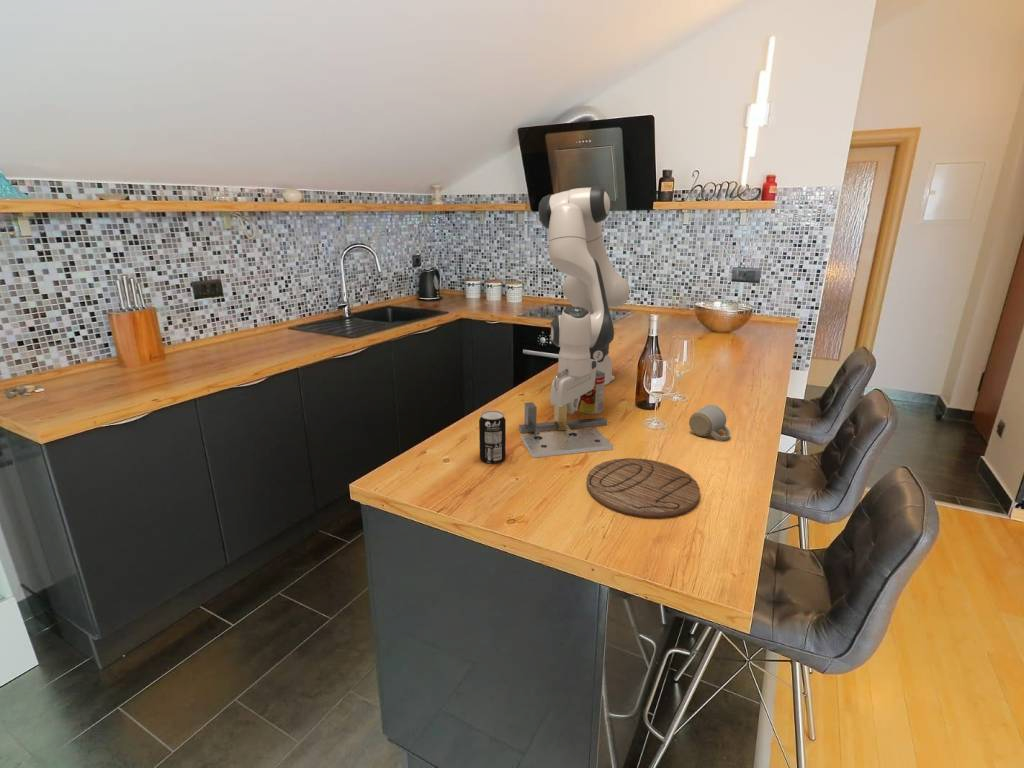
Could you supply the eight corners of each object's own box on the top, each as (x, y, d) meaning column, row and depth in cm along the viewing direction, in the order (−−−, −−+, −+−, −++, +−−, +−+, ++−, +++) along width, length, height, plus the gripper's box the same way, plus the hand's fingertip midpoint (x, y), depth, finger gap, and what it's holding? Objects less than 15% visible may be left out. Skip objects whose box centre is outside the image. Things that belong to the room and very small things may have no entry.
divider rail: (518, 429, 155) (518, 403, 153) (602, 421, 161) (604, 396, 159) (527, 443, 146) (527, 415, 144) (616, 434, 152) (618, 408, 149)
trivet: (717, 488, 124) (718, 480, 123) (666, 534, 106) (667, 526, 105) (622, 456, 139) (622, 449, 139) (564, 492, 122) (564, 484, 121)
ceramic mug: (685, 433, 153) (688, 407, 150) (700, 425, 158) (703, 401, 156) (720, 445, 146) (724, 419, 143) (735, 437, 151) (739, 411, 148)
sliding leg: (553, 424, 158) (554, 400, 155) (561, 423, 158) (562, 399, 156) (564, 438, 148) (565, 412, 146) (573, 437, 149) (574, 411, 146)
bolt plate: (521, 439, 149) (521, 434, 148) (595, 431, 153) (595, 427, 153) (532, 457, 138) (532, 453, 137) (612, 449, 142) (613, 445, 142)
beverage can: (491, 450, 142) (491, 407, 138) (510, 457, 138) (510, 413, 134) (474, 459, 137) (473, 415, 133) (493, 466, 133) (493, 421, 129)
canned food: (583, 403, 175) (585, 368, 172) (606, 408, 172) (608, 372, 168) (573, 411, 169) (575, 374, 165) (597, 416, 165) (599, 378, 161)
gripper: (565, 376, 141) (563, 425, 145) (600, 360, 157) (597, 404, 161) (545, 372, 145) (543, 420, 149) (581, 356, 161) (579, 400, 165)
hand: (572, 412), depth 155 cm, fingers closed
